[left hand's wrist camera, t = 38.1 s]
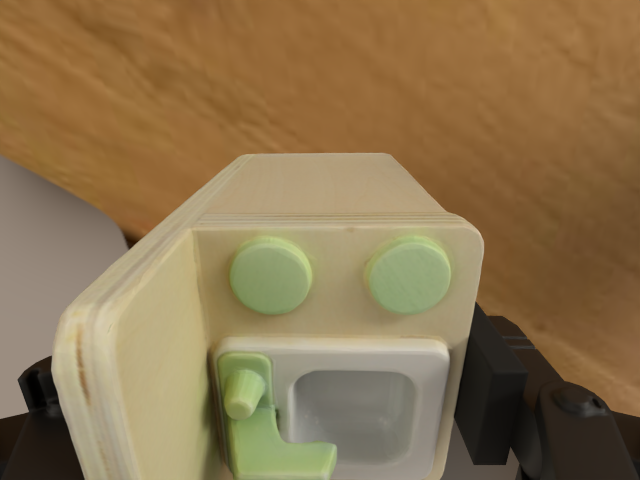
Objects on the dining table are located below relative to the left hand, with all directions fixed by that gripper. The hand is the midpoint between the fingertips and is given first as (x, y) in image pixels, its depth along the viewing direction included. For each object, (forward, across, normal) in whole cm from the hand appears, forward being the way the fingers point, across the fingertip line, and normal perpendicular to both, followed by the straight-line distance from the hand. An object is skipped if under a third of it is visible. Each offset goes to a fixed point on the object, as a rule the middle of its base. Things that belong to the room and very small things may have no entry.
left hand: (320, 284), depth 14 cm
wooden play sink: (+4, 0, 0) cm, 4 cm away
